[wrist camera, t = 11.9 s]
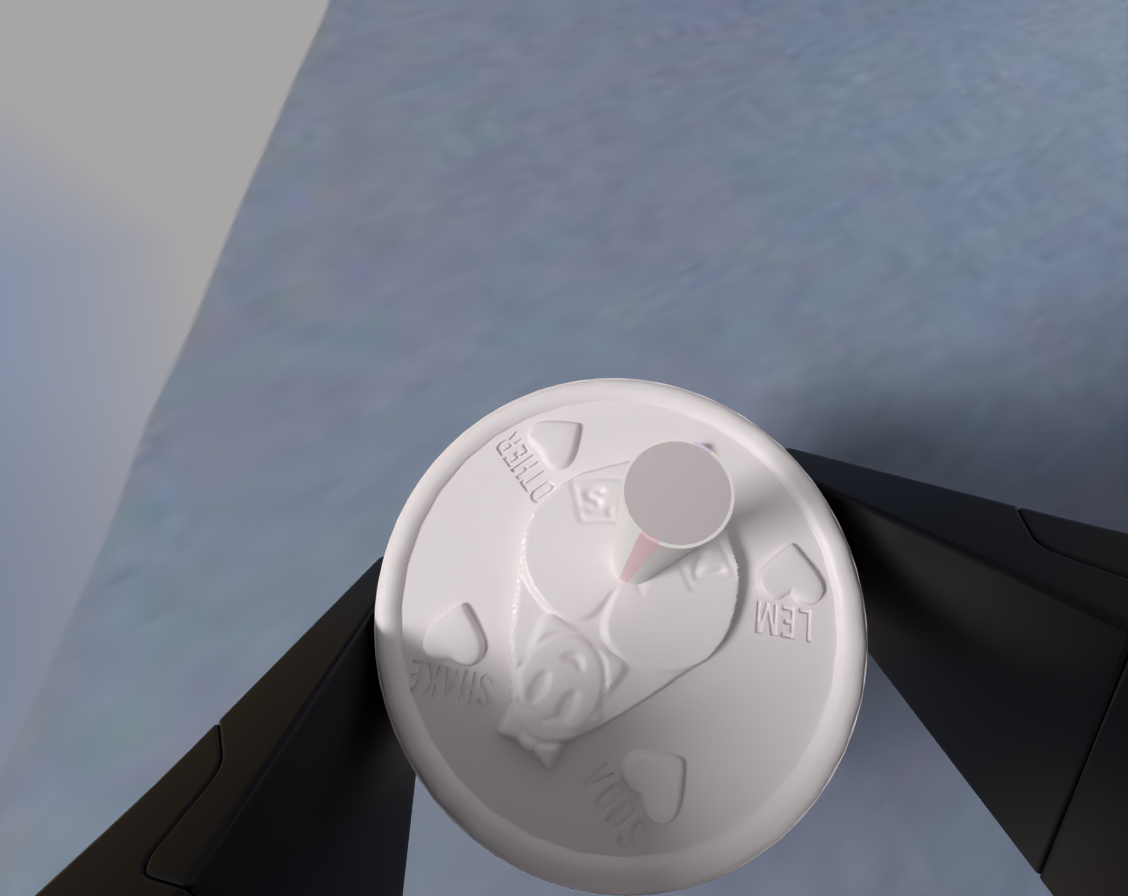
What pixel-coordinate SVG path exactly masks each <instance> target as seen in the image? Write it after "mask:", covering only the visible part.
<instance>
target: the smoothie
mask: <svg viewBox="0 0 1128 896" xmlns="http://www.w3.org/2000/svg"><path fill="white" fill-rule="evenodd" d="M374 639H375V655H376V663H377V670H378V676H379V683H380V687H381V691H382V695H383V699H384V703H385V707H386V710H387V712H388V715H389V718H390V721H391V724H392V727H393V730H394V732H395V734H396V737H397V739H398V741H399V743H400V745H401V747H402V750H403V752H404V754H405V756H406V758H407V759H408V761H409V763H410V764H411V766H412V768H413V770H414V771H415V773H416V775H417V776H418V778H419V780H420V781H421V782H422V784H423V785H424V786H425V788H426V789H427V791H428V792H429V793H430V795H431V796H432V797H433V799H434V800H435V801H436V802H437V804H438V805H439V806H440V807H441V808H442V809H443V810H444V811H445V813H446V814H447V815H448V816H449V817H450V818H451V819H452V820H453V821H454V822H455V823H456V824H457V825H458V826H459V827H460V828H461V829H463V830H464V831H465V832H466V833H467V834H468V835H469V836H470V837H471V838H472V839H474V840H475V841H476V842H478V843H479V844H480V845H482V846H483V847H485V848H486V849H487V850H489V851H490V852H491V853H493V854H494V855H496V856H497V857H499V858H501V859H503V860H504V861H506V862H508V863H509V864H511V865H513V866H515V867H516V868H518V869H520V870H522V871H525V872H527V873H529V874H531V875H534V876H536V877H538V878H541V879H543V880H545V881H549V882H552V883H555V884H558V885H561V886H565V887H568V888H571V889H576V890H582V891H587V892H593V893H598V894H611V895H626V896H628V895H647V894H658V893H664V892H670V891H675V890H681V889H685V888H688V887H692V886H695V885H698V884H702V883H705V882H708V881H711V880H713V879H715V878H718V877H720V876H722V875H725V874H727V873H729V872H731V871H734V870H736V869H737V868H739V867H741V866H742V865H744V864H746V863H747V862H749V861H751V860H753V859H754V858H756V857H758V856H759V855H760V854H762V853H763V852H764V851H766V850H767V849H768V848H770V847H771V846H772V845H774V844H775V843H776V842H778V841H779V840H780V839H781V838H782V837H783V836H784V835H785V834H787V833H788V832H789V831H790V830H791V829H792V828H793V827H794V826H795V825H796V824H797V823H798V822H799V821H800V820H801V819H802V818H803V816H804V815H805V814H806V813H807V812H808V810H809V809H810V808H811V807H812V806H813V804H814V803H815V802H816V801H817V800H818V798H819V797H820V795H821V794H822V792H823V790H824V789H825V787H826V786H827V784H828V783H829V781H830V780H831V778H832V777H833V775H834V773H835V771H836V769H837V767H838V765H839V763H840V761H841V759H842V757H843V755H844V753H845V751H846V749H847V746H848V743H849V741H850V738H851V735H852V733H853V730H854V727H855V725H856V721H857V717H858V713H859V709H860V705H861V702H862V697H863V690H864V684H865V677H866V667H867V648H868V643H867V621H866V613H865V606H864V599H863V593H862V588H861V584H860V580H859V576H858V572H857V568H856V565H855V562H854V559H853V556H852V553H851V550H850V548H849V545H848V542H847V540H846V538H845V536H844V533H843V531H842V529H841V527H840V525H839V522H838V520H837V518H836V517H835V515H834V513H833V511H832V510H831V508H830V506H829V504H828V503H827V501H826V499H825V498H824V496H823V495H822V493H821V492H820V490H819V489H818V488H817V486H816V485H815V483H814V482H813V480H812V479H811V478H810V477H809V475H808V474H807V473H806V472H805V471H804V469H803V468H802V467H801V466H800V465H799V463H798V462H797V461H796V460H795V459H794V458H793V457H792V456H791V455H790V454H789V453H788V452H787V451H786V450H785V449H784V448H783V447H782V446H781V445H780V444H779V443H778V442H776V441H775V440H774V439H773V438H772V437H770V436H769V435H768V434H767V433H766V432H765V431H763V430H762V429H761V428H759V427H758V426H756V425H755V424H754V423H752V422H751V421H749V420H748V419H746V418H745V417H743V416H742V415H740V414H738V413H736V412H735V411H733V410H731V409H729V408H728V407H726V406H724V405H722V404H720V403H718V402H716V401H713V400H711V399H709V398H707V397H705V396H702V395H699V394H697V393H694V392H691V391H688V390H685V389H682V388H678V387H675V386H671V385H667V384H663V383H657V382H651V381H645V380H636V379H623V378H606V379H591V380H581V381H575V382H570V383H565V384H559V385H556V386H552V387H549V388H545V389H542V390H538V391H536V392H533V393H531V394H528V395H526V396H523V397H520V398H518V399H516V400H514V401H512V402H510V403H508V404H506V405H504V406H502V407H500V408H498V409H497V410H495V411H493V412H492V413H490V414H489V415H487V416H485V417H484V418H482V419H481V420H479V421H478V422H477V423H475V424H474V425H473V426H471V427H470V428H469V429H467V430H466V431H465V432H464V433H463V434H461V435H460V436H459V437H458V438H457V439H456V440H455V441H454V442H453V443H451V444H450V445H449V446H448V447H447V448H446V449H445V451H444V452H443V453H442V454H441V455H440V456H439V457H438V458H437V459H436V460H435V461H434V463H433V464H432V465H431V466H430V468H429V469H428V470H427V472H426V473H425V474H424V475H423V477H422V478H421V479H420V481H419V483H418V484H417V486H416V487H415V489H414V490H413V492H412V493H411V495H410V497H409V498H408V500H407V502H406V504H405V506H404V508H403V510H402V512H401V514H400V516H399V517H398V520H397V522H396V525H395V527H394V530H393V532H392V534H391V537H390V539H389V543H388V546H387V549H386V552H385V556H384V559H383V562H382V567H381V572H380V576H379V581H378V587H377V595H376V603H375V621H374Z"/></svg>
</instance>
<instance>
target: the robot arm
mask: <svg viewBox="0 0 1128 896" xmlns="http://www.w3.org/2000/svg"><path fill="white" fill-rule="evenodd" d="M785 450H786V451H787V452H788V453H789V454H790V455H791V456H792V457H793V458H794V459H795V460H796V461H797V462H798V463H799V465H800V466H801V467H802V468H803V469H804V471H805V472H806V473H807V474H808V475H809V477H810V478H811V479H812V480H813V482H814V483H815V485H816V486H817V488H818V489H819V490H820V492H821V493H822V495H823V496H824V498H825V499H826V501H827V503H828V504H829V506H830V508H831V510H832V511H833V513H834V515H835V517H836V518H837V520H838V522H839V525H840V527H841V529H842V531H843V533H844V536H845V538H846V540H847V542H848V545H849V548H850V550H851V553H852V556H853V559H854V562H855V565H856V568H857V572H858V576H859V580H860V584H861V588H862V593H863V599H864V606H865V613H866V621H867V643H868V648H867V651H868V652H869V654H870V655H871V656H872V658H873V659H874V660H875V662H876V663H877V664H878V666H879V667H880V668H881V669H882V671H883V672H884V673H885V675H886V676H887V677H888V679H889V680H890V681H891V683H892V684H893V685H894V687H895V688H896V689H897V690H898V692H899V693H900V694H901V696H902V697H903V698H904V700H905V701H906V702H907V704H908V705H909V706H910V708H911V709H912V710H913V711H914V713H915V714H916V715H917V717H918V718H919V719H920V721H921V722H922V723H923V725H924V726H925V727H926V729H927V730H928V731H929V732H930V734H931V735H932V736H933V738H934V739H935V740H936V742H937V743H938V744H939V746H940V747H941V748H942V749H943V751H944V752H945V753H946V755H947V756H948V757H949V759H950V760H951V761H952V763H953V764H954V765H955V767H956V768H957V769H958V770H959V772H960V773H961V774H962V776H963V777H964V778H965V780H966V781H967V782H968V784H969V785H970V786H971V788H972V789H973V790H974V791H975V793H976V794H977V795H978V797H979V798H980V799H981V801H982V802H983V803H984V805H985V806H986V807H987V809H988V810H989V811H990V812H991V814H992V815H993V816H994V818H995V819H996V820H997V822H998V823H999V824H1000V826H1001V827H1002V828H1003V830H1004V831H1005V832H1006V833H1007V835H1008V836H1009V837H1010V839H1011V840H1012V841H1013V843H1014V844H1015V845H1016V847H1017V848H1018V849H1019V851H1020V852H1021V853H1022V854H1023V856H1024V857H1025V858H1026V860H1027V861H1028V862H1029V864H1030V865H1031V866H1032V868H1033V869H1034V870H1035V871H1036V872H1037V873H1039V874H1041V875H1040V878H1041V880H1042V881H1043V883H1044V884H1045V885H1046V887H1047V888H1048V889H1049V891H1050V892H1051V893H1052V895H1053V896H1128V533H1123V532H1119V531H1114V530H1110V529H1105V528H1101V527H1097V526H1093V525H1089V524H1084V523H1080V522H1076V521H1072V520H1068V519H1064V518H1060V517H1056V516H1052V515H1048V514H1044V513H1040V512H1036V511H1033V510H1029V509H1025V508H1020V509H1019V510H1018V509H1017V508H1016V507H1015V506H1013V505H1009V504H1005V503H1001V502H997V501H993V500H989V499H985V498H982V497H978V496H974V495H970V494H966V493H962V492H958V491H954V490H950V489H946V488H943V487H939V486H935V485H931V484H927V483H923V482H919V481H915V480H911V479H907V478H904V477H900V476H896V475H892V474H888V473H884V472H880V471H876V470H872V469H869V468H865V467H861V466H857V465H853V464H849V463H845V462H841V461H837V460H833V459H830V458H826V457H822V456H818V455H814V454H810V453H806V452H802V451H798V450H795V449H790V448H787V449H785ZM383 559H384V557H381V558H379V559H378V560H377V561H376V562H375V563H374V564H373V565H372V566H371V567H370V568H369V569H368V570H367V571H366V572H365V573H364V574H363V575H362V576H361V577H360V578H359V579H358V580H357V581H356V583H355V584H354V585H353V586H352V587H351V588H350V589H349V590H348V591H347V592H346V593H345V594H344V595H343V596H342V597H341V598H340V599H339V600H338V601H337V602H336V603H335V604H334V605H333V606H332V607H331V608H330V609H329V610H328V611H327V612H326V613H325V614H324V615H323V616H322V617H321V618H320V619H319V620H318V621H317V622H316V623H315V624H314V625H313V626H312V627H311V628H310V629H309V630H308V631H307V632H306V633H305V634H304V635H303V636H302V637H301V638H300V639H299V640H298V641H297V642H296V643H295V644H294V645H293V646H292V647H291V648H290V649H289V650H288V651H287V652H286V653H285V654H284V655H283V656H282V657H281V658H280V659H279V661H278V662H277V663H276V664H275V665H274V666H273V667H272V668H271V669H270V670H269V671H268V672H267V673H266V674H265V675H264V676H263V677H262V678H261V679H260V680H259V681H258V682H257V683H256V684H255V685H254V686H253V687H252V688H251V689H250V690H249V691H248V692H247V693H246V694H245V695H244V696H243V697H242V698H241V699H240V700H239V701H238V702H237V703H236V704H235V705H234V706H233V707H232V708H231V709H230V710H229V711H228V712H227V713H226V714H225V715H224V716H223V717H222V718H221V719H220V721H219V725H214V726H213V727H212V728H211V729H210V730H209V731H208V732H207V733H206V734H205V735H204V736H203V737H202V738H201V739H200V740H199V742H198V743H197V744H196V745H195V746H194V747H193V748H192V749H191V750H190V751H189V752H188V753H187V754H186V755H185V756H184V757H182V758H181V759H180V760H179V761H178V762H177V763H176V764H175V765H174V766H173V767H172V768H171V769H170V770H169V771H168V772H167V773H166V774H165V775H164V776H163V777H162V778H161V779H160V780H159V781H158V782H157V783H156V784H155V785H154V786H153V787H152V788H151V789H150V790H149V791H148V792H147V793H146V794H144V795H143V796H142V797H141V798H140V799H139V800H138V801H137V802H136V803H135V804H134V805H133V806H132V807H131V808H129V809H128V810H127V811H126V812H125V813H124V814H123V815H122V816H121V817H120V818H119V819H118V820H117V821H116V822H115V823H113V824H112V825H111V826H110V827H109V828H108V829H107V830H106V831H105V832H104V833H103V834H102V835H100V836H99V837H98V838H97V839H96V840H95V841H94V842H93V843H92V844H91V845H90V846H88V847H87V848H86V849H85V850H84V851H83V852H82V853H81V854H80V855H79V856H78V857H77V858H75V859H74V860H73V861H72V862H71V863H70V864H69V865H68V866H67V867H66V868H65V869H63V870H62V871H61V872H60V873H59V874H58V875H57V876H56V877H55V878H54V879H53V880H51V881H50V882H49V883H48V884H47V885H46V886H45V887H44V888H43V889H42V890H41V891H39V892H38V893H37V894H36V895H35V896H403V887H404V878H405V869H406V860H407V851H408V841H409V832H410V823H411V814H412V805H413V796H414V787H415V778H416V773H415V771H414V770H413V768H412V766H411V764H410V763H409V761H408V759H407V758H406V756H405V754H404V752H403V750H402V747H401V745H400V743H399V741H398V739H397V737H396V734H395V732H394V730H393V727H392V724H391V721H390V718H389V715H388V712H387V710H386V707H385V703H384V699H383V695H382V691H381V687H380V683H379V676H378V670H377V663H376V655H375V639H374V621H375V603H376V595H377V587H378V581H379V576H380V572H381V567H382V562H383Z"/></svg>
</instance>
